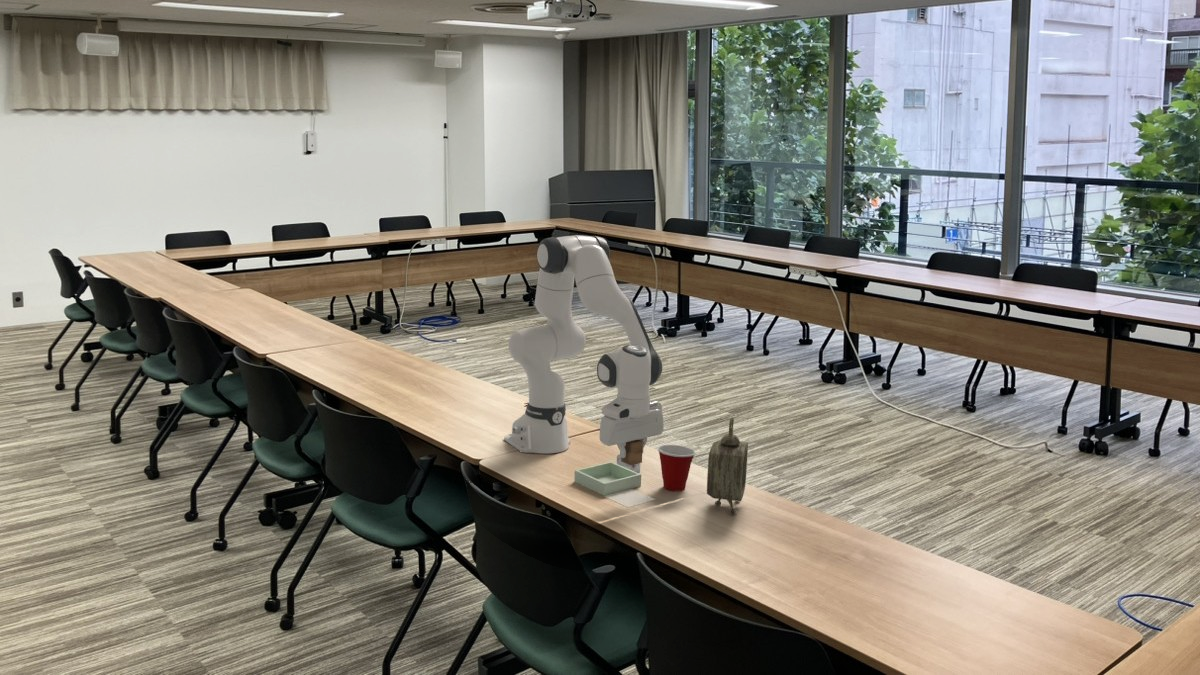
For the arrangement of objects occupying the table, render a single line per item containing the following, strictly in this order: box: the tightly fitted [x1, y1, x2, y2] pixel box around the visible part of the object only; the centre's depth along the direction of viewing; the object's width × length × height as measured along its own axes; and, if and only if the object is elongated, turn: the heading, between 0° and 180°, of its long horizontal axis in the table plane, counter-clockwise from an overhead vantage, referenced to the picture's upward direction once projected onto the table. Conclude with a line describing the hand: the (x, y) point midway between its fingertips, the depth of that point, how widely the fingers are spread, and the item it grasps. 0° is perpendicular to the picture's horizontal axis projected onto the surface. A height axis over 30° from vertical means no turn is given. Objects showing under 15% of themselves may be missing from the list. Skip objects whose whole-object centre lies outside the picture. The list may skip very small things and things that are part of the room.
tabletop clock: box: [706, 417, 749, 516], centre depth 275 cm, size 14×9×25 cm, turn 166°
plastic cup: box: [657, 444, 697, 492], centre depth 288 cm, size 11×11×12 cm
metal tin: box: [616, 453, 641, 474], centre depth 301 cm, size 7×7×5 cm
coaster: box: [603, 488, 656, 508], centre depth 280 cm, size 10×10×1 cm
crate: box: [573, 461, 642, 496], centre depth 290 cm, size 13×13×4 cm
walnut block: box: [621, 440, 644, 465], centre depth 277 cm, size 4×4×6 cm
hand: (631, 455), depth 278 cm, fingers closed on walnut block, 4 cm apart
